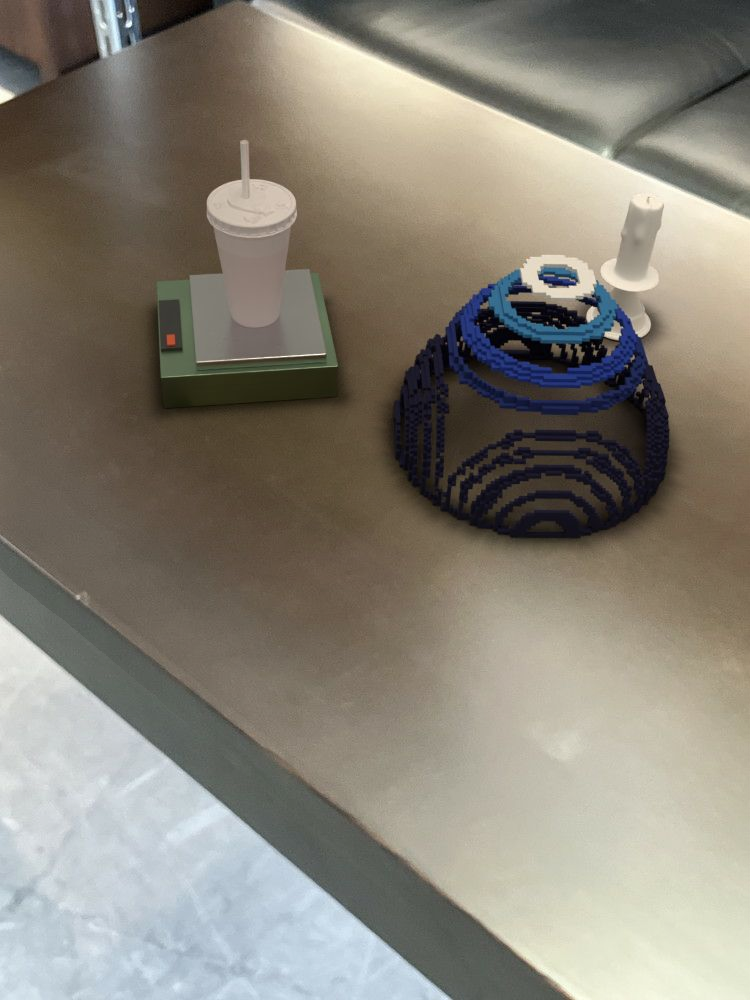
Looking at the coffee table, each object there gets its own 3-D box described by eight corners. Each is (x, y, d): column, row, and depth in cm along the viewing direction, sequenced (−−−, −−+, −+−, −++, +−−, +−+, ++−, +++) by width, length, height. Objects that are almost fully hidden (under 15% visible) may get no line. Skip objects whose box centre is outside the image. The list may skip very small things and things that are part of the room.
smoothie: (259, 278, 91) (255, 112, 81) (314, 315, 88) (316, 148, 78) (195, 310, 88) (182, 141, 78) (250, 350, 85) (243, 180, 75)
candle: (649, 346, 93) (684, 217, 85) (583, 336, 94) (612, 207, 85) (651, 308, 97) (685, 181, 88) (588, 298, 98) (616, 171, 89)
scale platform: (196, 370, 84) (195, 362, 83) (189, 282, 91) (189, 274, 91) (326, 362, 85) (326, 354, 85) (309, 276, 93) (309, 268, 92)
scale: (164, 408, 85) (160, 372, 83) (159, 311, 94) (156, 276, 91) (337, 396, 87) (338, 361, 85) (318, 302, 95) (318, 267, 93)
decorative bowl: (636, 354, 93) (678, 196, 82) (691, 538, 79) (750, 376, 68) (388, 350, 91) (399, 189, 81) (400, 536, 78) (415, 370, 67)
